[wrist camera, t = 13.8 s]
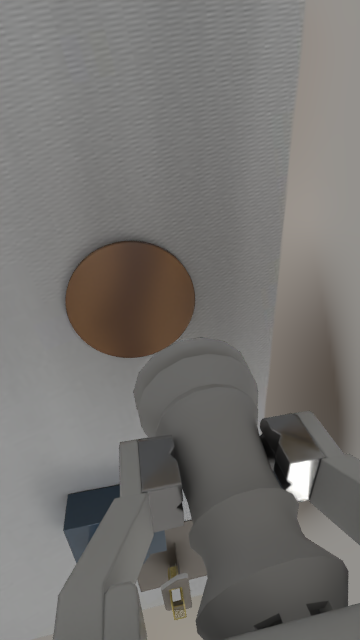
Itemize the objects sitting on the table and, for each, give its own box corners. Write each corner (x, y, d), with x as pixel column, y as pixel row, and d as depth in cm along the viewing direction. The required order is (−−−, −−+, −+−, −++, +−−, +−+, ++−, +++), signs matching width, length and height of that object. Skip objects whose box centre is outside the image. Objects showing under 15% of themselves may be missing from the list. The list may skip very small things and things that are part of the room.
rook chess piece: (233, 417, 14) (358, 679, 7) (130, 426, 13) (163, 743, 6) (255, 329, 12) (462, 580, 5) (134, 331, 11) (193, 651, 4)
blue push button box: (158, 477, 40) (164, 526, 35) (162, 517, 45) (169, 566, 40) (67, 494, 39) (60, 548, 34) (81, 534, 43) (77, 587, 38)
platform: (141, 592, 54) (144, 644, 48) (123, 535, 45) (125, 592, 39) (210, 574, 56) (221, 623, 50) (206, 516, 46) (219, 568, 41)
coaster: (192, 234, 26) (194, 236, 26) (194, 346, 32) (195, 349, 31) (52, 247, 25) (51, 248, 24) (79, 362, 30) (79, 365, 30)
